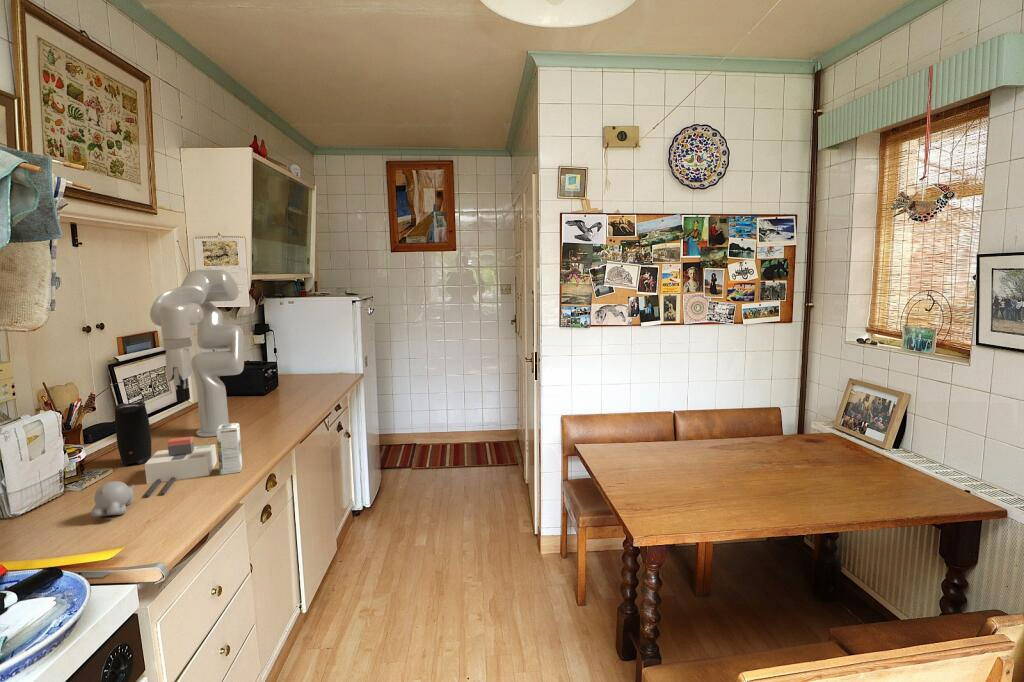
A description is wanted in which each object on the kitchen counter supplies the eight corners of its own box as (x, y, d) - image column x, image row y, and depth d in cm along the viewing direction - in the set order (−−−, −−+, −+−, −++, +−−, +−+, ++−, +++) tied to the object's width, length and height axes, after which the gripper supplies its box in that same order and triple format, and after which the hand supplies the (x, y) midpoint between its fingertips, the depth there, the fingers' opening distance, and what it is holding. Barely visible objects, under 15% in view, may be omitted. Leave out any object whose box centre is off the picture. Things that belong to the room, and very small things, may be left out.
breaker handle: (171, 452, 155) (170, 438, 154) (194, 449, 157) (192, 436, 156) (168, 455, 152) (167, 441, 151) (191, 453, 154) (190, 439, 153)
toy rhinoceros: (144, 512, 135) (149, 479, 137) (115, 516, 123) (120, 480, 125) (115, 513, 134) (120, 480, 136) (83, 517, 123) (89, 482, 125)
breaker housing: (159, 469, 158) (157, 450, 157) (217, 461, 164) (215, 444, 163) (146, 483, 147) (144, 464, 146) (208, 475, 152) (207, 456, 152)
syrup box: (222, 469, 158) (217, 424, 156) (243, 465, 160) (239, 422, 158) (219, 475, 152) (215, 429, 150) (241, 472, 155) (237, 427, 153)
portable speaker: (140, 467, 160) (133, 407, 157) (112, 466, 160) (104, 408, 158) (160, 457, 169) (153, 400, 166) (133, 457, 169) (126, 400, 166)
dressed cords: (157, 482, 148) (156, 478, 148) (176, 480, 149) (175, 476, 149) (144, 498, 138) (143, 494, 137) (164, 495, 139) (164, 491, 139)
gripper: (170, 341, 163) (176, 396, 166) (155, 347, 149) (162, 407, 151) (197, 340, 166) (202, 394, 168) (185, 346, 151) (191, 405, 154)
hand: (183, 400), depth 160 cm, fingers closed
